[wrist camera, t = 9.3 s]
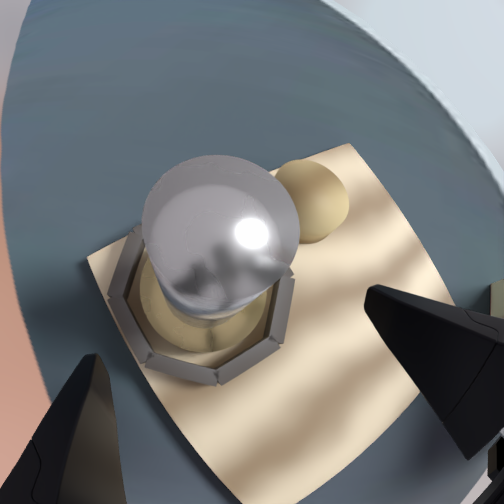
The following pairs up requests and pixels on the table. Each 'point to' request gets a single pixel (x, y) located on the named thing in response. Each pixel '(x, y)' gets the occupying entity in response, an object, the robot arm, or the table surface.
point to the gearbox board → (290, 340)
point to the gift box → (497, 299)
